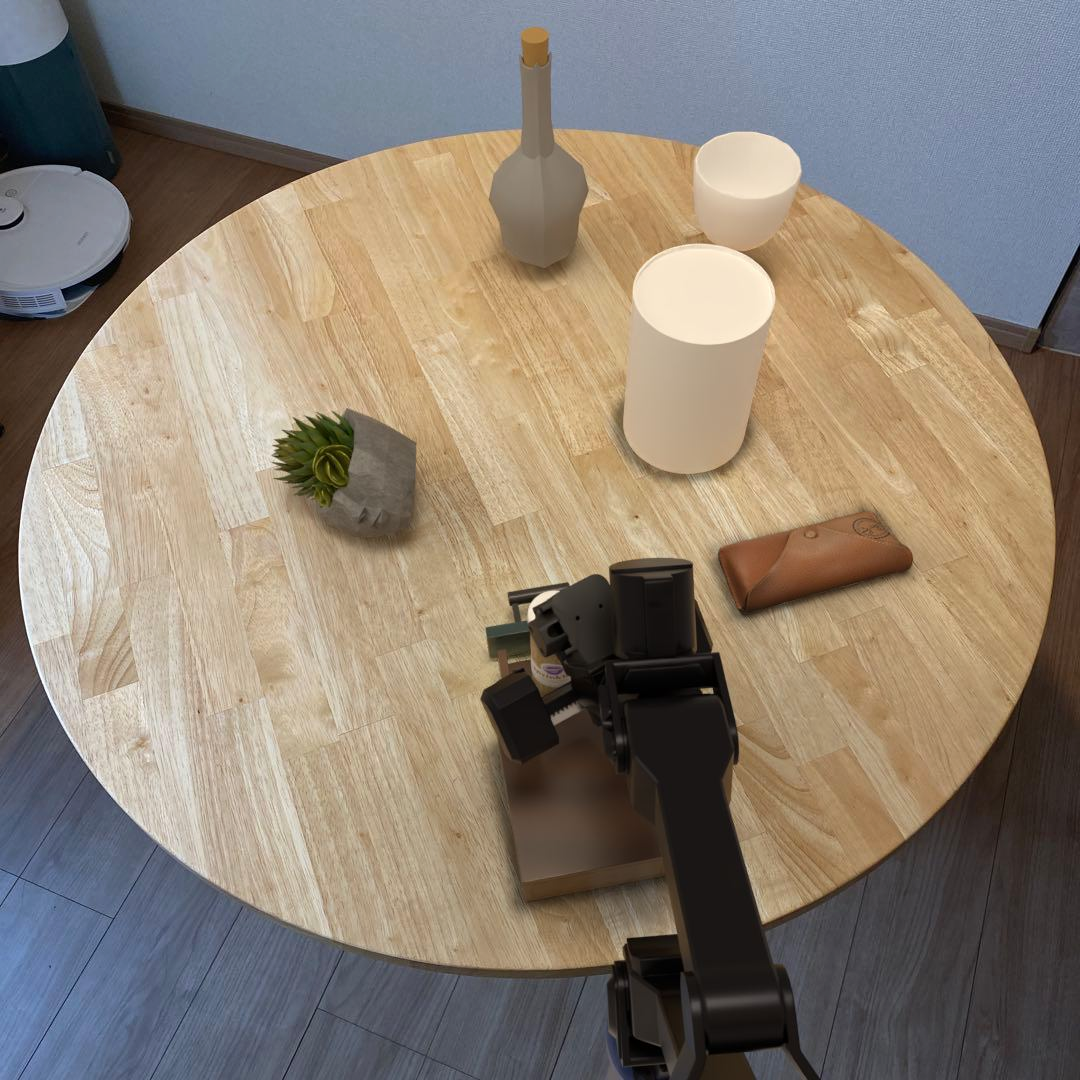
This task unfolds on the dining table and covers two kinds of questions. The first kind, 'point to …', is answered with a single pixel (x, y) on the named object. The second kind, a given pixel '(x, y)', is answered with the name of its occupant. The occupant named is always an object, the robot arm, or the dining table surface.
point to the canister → (694, 355)
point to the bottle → (538, 171)
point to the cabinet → (576, 818)
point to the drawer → (516, 632)
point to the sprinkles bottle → (547, 669)
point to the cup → (744, 188)
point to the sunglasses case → (811, 561)
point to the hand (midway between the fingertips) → (561, 650)
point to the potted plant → (352, 472)
